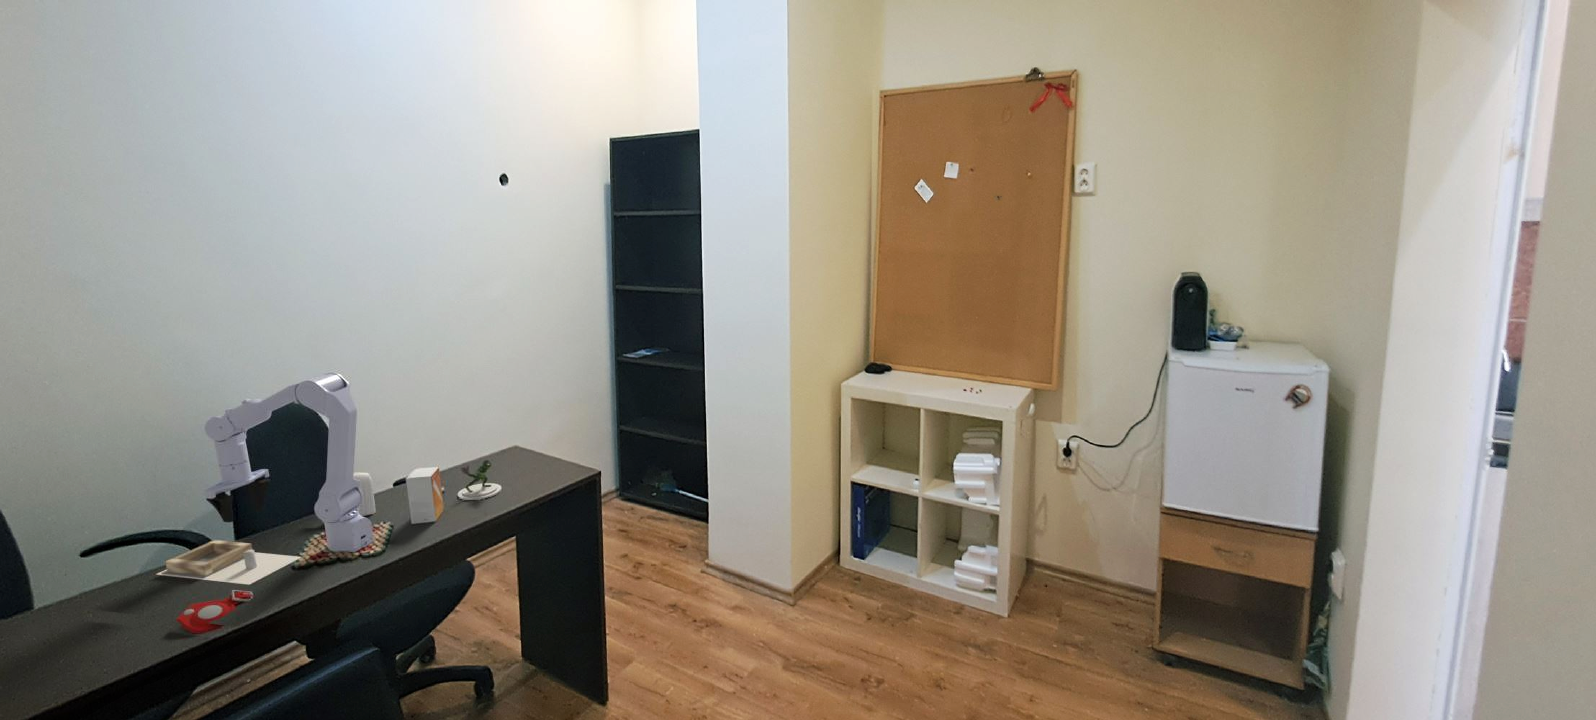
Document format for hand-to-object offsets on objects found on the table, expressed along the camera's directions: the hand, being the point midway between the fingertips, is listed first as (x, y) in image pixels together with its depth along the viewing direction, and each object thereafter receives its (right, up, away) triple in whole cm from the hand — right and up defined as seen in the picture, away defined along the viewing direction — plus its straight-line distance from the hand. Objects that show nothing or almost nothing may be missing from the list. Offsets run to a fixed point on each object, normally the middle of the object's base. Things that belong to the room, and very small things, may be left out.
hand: (243, 515), depth 168 cm
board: (+3, -11, -8) cm, 14 cm away
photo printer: (+13, -6, +23) cm, 26 cm away
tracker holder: (+17, -16, -27) cm, 35 cm away
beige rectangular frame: (-2, -10, -7) cm, 12 cm away
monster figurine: (+40, -2, +38) cm, 55 cm away
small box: (+34, -6, +21) cm, 40 cm away
